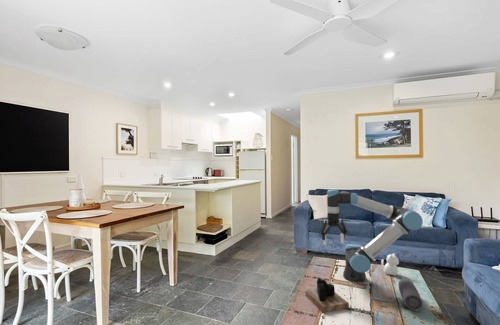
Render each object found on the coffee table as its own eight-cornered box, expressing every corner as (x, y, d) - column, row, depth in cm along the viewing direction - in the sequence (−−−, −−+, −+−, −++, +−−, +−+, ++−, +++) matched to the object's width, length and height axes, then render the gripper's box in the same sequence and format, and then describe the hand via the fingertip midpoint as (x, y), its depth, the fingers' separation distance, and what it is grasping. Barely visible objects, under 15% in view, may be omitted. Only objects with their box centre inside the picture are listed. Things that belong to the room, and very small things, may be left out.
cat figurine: (396, 278, 181) (396, 256, 181) (378, 272, 190) (378, 252, 191) (401, 274, 187) (401, 254, 187) (383, 269, 196) (383, 249, 197)
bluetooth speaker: (397, 292, 159) (396, 276, 160) (414, 295, 156) (414, 278, 156) (403, 311, 138) (403, 292, 139) (423, 314, 135) (423, 295, 135)
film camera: (336, 302, 141) (336, 286, 141) (318, 301, 142) (318, 285, 143) (332, 290, 156) (332, 275, 156) (315, 289, 157) (315, 274, 158)
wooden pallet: (328, 291, 160) (328, 287, 160) (348, 308, 141) (348, 302, 141) (305, 295, 156) (305, 290, 156) (323, 312, 137) (323, 307, 137)
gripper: (345, 210, 180) (345, 241, 179) (313, 212, 173) (314, 243, 173) (352, 212, 173) (352, 244, 172) (319, 214, 166) (320, 247, 165)
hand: (333, 244), depth 172 cm, fingers open, 13 cm apart
